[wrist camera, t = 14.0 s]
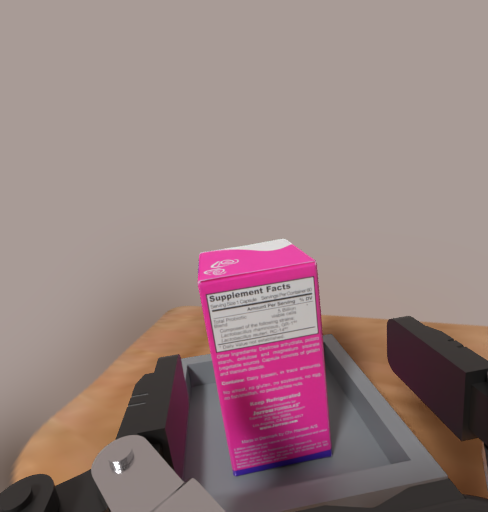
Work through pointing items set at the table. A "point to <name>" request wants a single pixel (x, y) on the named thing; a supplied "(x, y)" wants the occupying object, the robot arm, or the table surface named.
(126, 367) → the table surface
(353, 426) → the tray
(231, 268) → the supplement box
